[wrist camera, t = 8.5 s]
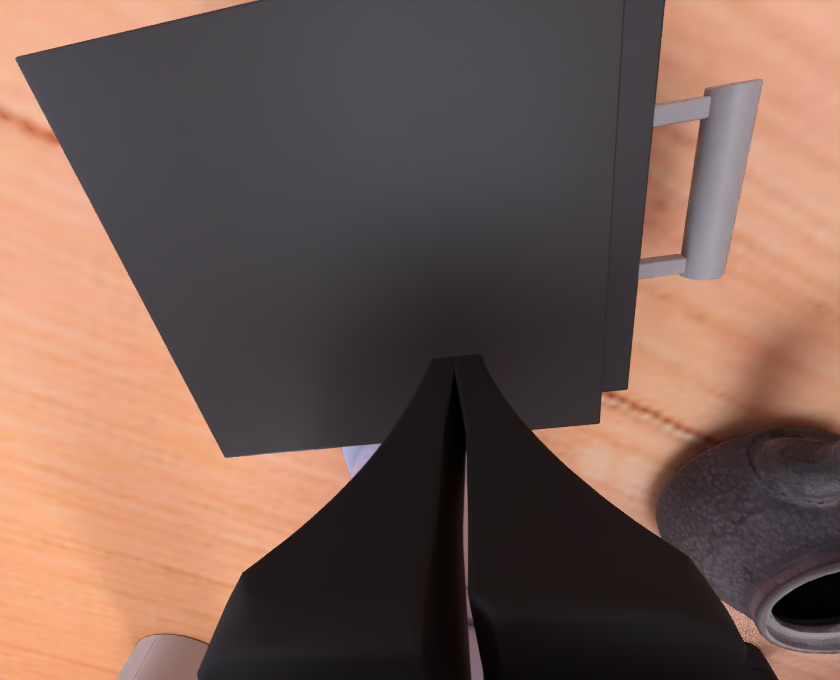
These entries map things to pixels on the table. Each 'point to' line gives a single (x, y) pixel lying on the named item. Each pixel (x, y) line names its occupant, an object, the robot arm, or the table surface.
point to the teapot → (765, 530)
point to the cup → (164, 659)
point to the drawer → (710, 187)
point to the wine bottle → (755, 666)
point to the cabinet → (356, 201)
